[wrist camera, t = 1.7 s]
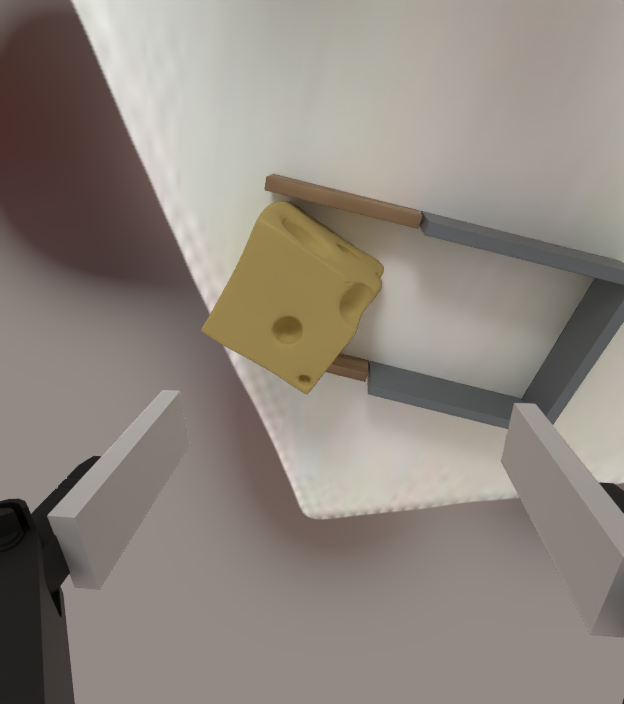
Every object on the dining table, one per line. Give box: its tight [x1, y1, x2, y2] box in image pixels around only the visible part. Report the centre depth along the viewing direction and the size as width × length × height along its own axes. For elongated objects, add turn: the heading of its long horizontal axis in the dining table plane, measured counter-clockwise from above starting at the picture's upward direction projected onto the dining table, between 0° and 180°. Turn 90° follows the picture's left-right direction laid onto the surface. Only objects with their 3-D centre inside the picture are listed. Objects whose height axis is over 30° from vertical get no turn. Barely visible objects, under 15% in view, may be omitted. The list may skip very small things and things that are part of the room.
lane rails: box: [265, 174, 422, 382], centre depth 35 cm, size 16×12×2 cm
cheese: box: [202, 202, 384, 394], centre depth 32 cm, size 10×11×10 cm
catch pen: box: [367, 211, 624, 429], centre depth 35 cm, size 16×17×4 cm
